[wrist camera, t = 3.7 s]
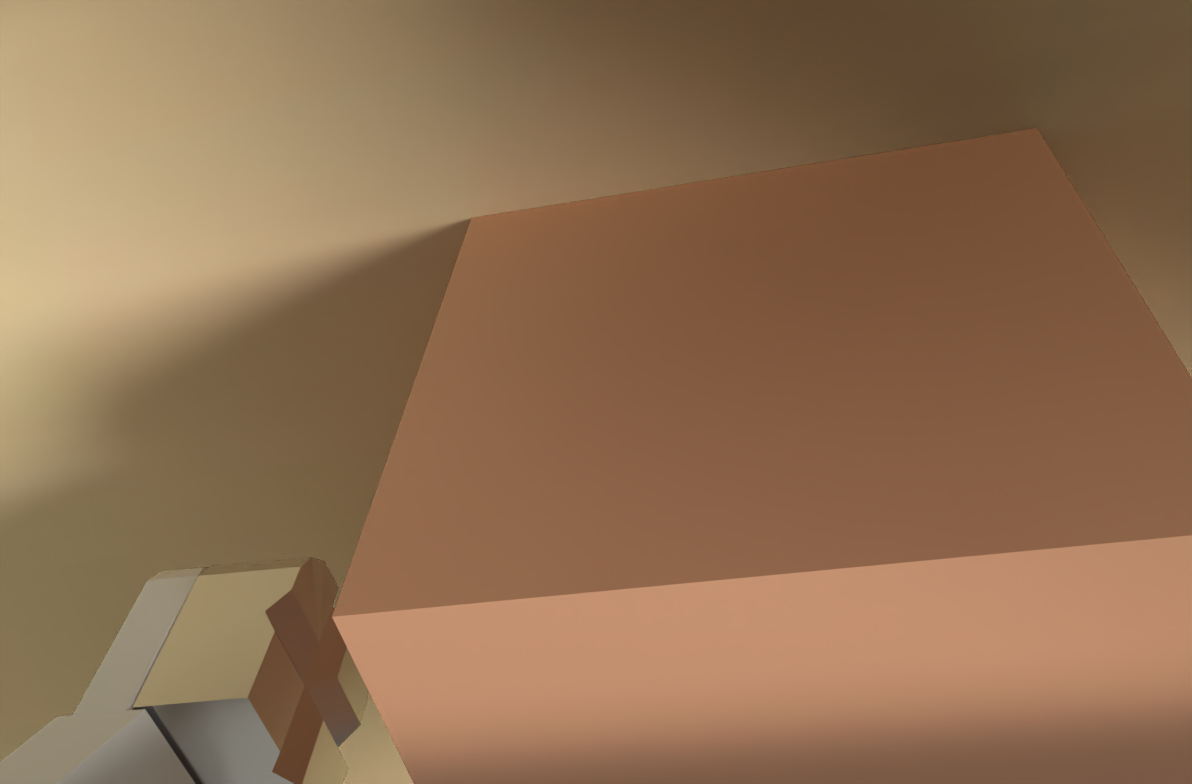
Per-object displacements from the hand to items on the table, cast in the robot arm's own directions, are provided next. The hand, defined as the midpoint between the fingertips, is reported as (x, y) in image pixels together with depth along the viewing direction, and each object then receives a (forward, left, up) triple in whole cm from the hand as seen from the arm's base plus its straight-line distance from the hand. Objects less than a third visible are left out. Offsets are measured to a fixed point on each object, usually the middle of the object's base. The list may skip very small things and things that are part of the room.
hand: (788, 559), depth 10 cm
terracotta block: (0, 0, -2) cm, 2 cm away
